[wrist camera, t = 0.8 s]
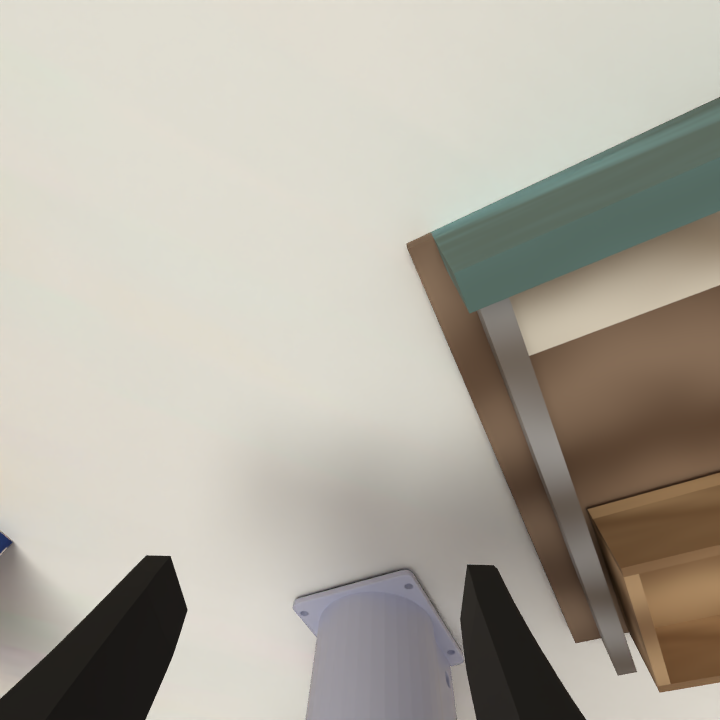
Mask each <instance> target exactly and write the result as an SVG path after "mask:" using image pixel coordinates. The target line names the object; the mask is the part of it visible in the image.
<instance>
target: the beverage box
mask: <svg viewBox="0 0 720 720" xmlns="http://www.w3.org/2000/svg"><path fill="white" fill-rule="evenodd" d="M12 543H13V541H12V540H10V539H9V538H8V537H7V536H6V535H4V534H3V533H2V532H1V531H0V555H1V554H2V553H3V552H4V551H5V550H6V549H7V548H8V547H9V546H10V545H11V544H12Z"/></svg>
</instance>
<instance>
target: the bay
mask: <svg viewBox="0 0 720 720" xmlns="http://www.w3.org/2000/svg"><path fill="white" fill-rule="evenodd" d="M407 248H408V251H409V253H410V255H411V258H412V260H413V263H414V265H415V267H416V270H417V272H418V274H419V277H420V279H421V281H422V284H423V286H424V288H425V291H426V293H427V295H428V298H429V300H430V302H431V305H432V307H433V310H434V312H435V314H436V317H437V319H438V321H439V324H440V326H441V328H442V331H443V333H444V335H445V338H446V340H447V342H448V345H449V347H450V349H451V352H452V354H453V357H454V359H455V361H456V364H457V366H458V368H459V371H460V373H461V375H462V378H463V380H464V382H465V385H466V387H467V389H468V392H469V394H470V396H471V399H472V401H473V403H474V406H475V408H476V411H477V413H478V415H479V418H480V420H481V422H482V425H483V427H484V429H485V432H486V434H487V436H488V439H489V441H490V443H491V446H492V448H493V450H494V453H495V455H496V458H497V460H498V462H499V465H500V467H501V469H502V472H503V474H504V476H505V479H506V481H507V483H508V486H509V488H510V490H511V493H512V495H513V497H514V500H515V502H516V505H517V507H518V509H519V512H520V514H521V516H522V519H523V521H524V523H525V526H526V528H527V530H528V533H529V535H530V537H531V540H532V542H533V544H534V547H535V549H536V552H537V554H538V556H539V559H540V561H541V563H542V566H543V568H544V570H545V573H546V575H547V577H548V580H549V582H550V584H551V587H552V589H553V591H554V594H555V596H556V598H557V601H558V603H559V606H560V608H561V610H562V613H563V615H564V617H565V620H566V622H567V624H568V627H569V629H570V631H571V634H572V636H573V638H574V641H575V643H579V642H584V641H589V640H594V639H599V638H601V639H602V641H603V643H604V645H605V648H606V650H607V652H608V654H609V657H610V659H611V661H612V663H613V666H614V668H615V670H616V672H617V675H623V674H629V673H634V672H637V671H636V668H635V665H634V662H633V659H632V656H631V653H630V650H629V647H628V644H627V641H626V638H625V636H624V633H628V632H629V631H628V629H627V627H626V624H625V621H624V618H623V615H622V612H621V609H620V606H619V603H618V600H617V597H616V594H615V591H614V588H613V585H612V582H611V579H610V576H609V573H608V570H607V567H606V564H605V561H604V558H603V555H602V552H601V549H600V546H599V543H598V540H597V537H596V534H595V531H594V528H593V525H592V522H591V519H590V516H589V513H588V510H587V509H590V508H594V507H597V506H601V505H605V504H608V503H612V502H616V501H619V500H623V499H626V498H630V497H634V496H637V495H641V494H644V493H648V492H652V491H655V490H659V489H662V488H666V487H670V486H673V485H677V484H681V483H684V482H688V481H691V480H695V479H699V478H702V477H706V476H709V475H713V474H717V473H720V97H719V98H717V99H715V100H713V101H711V102H708V103H706V104H704V105H702V106H700V107H698V108H696V109H693V110H691V111H689V112H687V113H685V114H683V115H681V116H678V117H676V118H674V119H672V120H670V121H668V122H666V123H664V124H661V125H659V126H657V127H655V128H653V129H651V130H649V131H646V132H644V133H642V134H640V135H638V136H636V137H634V138H631V139H629V140H627V141H625V142H623V143H621V144H619V145H616V146H614V147H612V148H610V149H608V150H606V151H604V152H602V153H599V154H597V155H595V156H593V157H591V158H589V159H587V160H584V161H582V162H580V163H578V164H576V165H574V166H572V167H569V168H567V169H565V170H563V171H561V172H559V173H557V174H555V175H552V176H550V177H548V178H546V179H544V180H542V181H540V182H537V183H535V184H533V185H531V186H529V187H527V188H525V189H522V190H520V191H518V192H516V193H514V194H512V195H510V196H507V197H505V198H503V199H501V200H499V201H497V202H495V203H493V204H490V205H488V206H486V207H484V208H482V209H480V210H478V211H475V212H473V213H471V214H469V215H467V216H465V217H463V218H460V219H458V220H456V221H454V222H452V223H450V224H448V225H446V226H443V227H441V228H439V229H437V230H435V231H433V232H431V233H428V234H426V235H424V236H422V237H420V238H418V239H416V240H413V241H411V242H409V243H407Z"/></svg>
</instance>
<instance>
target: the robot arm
mask: <svg viewBox="0 0 720 720" xmlns="http://www.w3.org/2000/svg"><path fill="white" fill-rule="evenodd" d="M293 610H294V611H295V612H296V613H297V615H298V616H299V617H300V618H301V619H302V620H303V622H304V623H305V624H306V625H307V626H308V628H309V629H310V630H311V631H312V632H313V634H314V635H315V636H316V637H317V640H316V647H315V655H314V662H313V669H312V676H311V684H310V691H309V698H308V705H307V713H306V720H457V715H456V707H455V699H454V692H453V684H452V676H451V668H450V666H454V665H459V664H461V663H463V661H464V658H463V653H462V652H461V650H460V648H459V647H458V645H457V644H456V642H455V640H454V639H453V637H452V636H451V634H450V632H449V631H448V629H447V627H446V626H445V624H444V623H443V621H442V619H441V618H440V616H439V615H438V613H437V611H436V610H435V608H434V606H433V605H432V603H431V602H430V600H429V598H428V597H427V595H426V594H425V592H424V590H423V589H422V587H421V586H420V584H419V582H418V581H417V579H416V577H415V576H414V574H413V573H412V572H411V571H409V570H401V571H397V572H393V573H390V574H386V575H382V576H378V577H375V578H371V579H367V580H364V581H360V582H356V583H353V584H349V585H345V586H342V587H338V588H334V589H331V590H327V591H323V592H319V593H316V594H312V595H308V596H305V597H301V598H298V599H296V600H294V603H293ZM186 613H187V606H186V603H185V600H184V597H183V594H182V591H181V588H180V585H179V581H178V578H177V575H176V572H175V569H174V566H173V563H172V559H171V556H148V555H147V556H145V557H144V558H143V559H142V560H141V561H140V562H139V563H138V564H137V565H136V566H135V567H134V568H133V569H132V570H131V571H130V572H129V573H128V574H127V576H126V577H125V578H124V579H123V580H122V581H121V582H120V583H119V584H118V585H117V586H116V587H115V588H114V589H113V590H112V591H111V592H110V593H109V594H108V595H107V596H106V597H105V598H104V599H103V600H102V601H101V602H100V603H99V604H98V605H97V606H96V607H95V608H94V609H93V610H92V611H91V612H90V613H89V614H88V615H87V616H86V617H85V618H84V619H83V620H82V621H81V622H80V623H79V624H78V625H77V626H76V627H75V628H74V629H73V630H72V631H71V632H70V633H69V634H68V635H67V636H66V637H65V638H64V639H63V640H62V641H61V642H60V643H59V644H58V645H57V646H56V647H55V648H54V649H53V650H52V651H51V652H50V653H49V654H48V655H47V656H46V657H45V658H44V659H43V660H42V661H40V662H39V663H38V664H37V665H36V666H35V667H34V668H33V669H32V670H31V671H30V672H29V673H28V674H27V675H25V676H24V677H23V678H22V679H21V680H20V681H19V682H18V683H17V684H16V685H15V686H14V687H13V688H12V689H10V690H9V691H8V692H7V693H6V694H5V695H4V696H3V697H2V698H1V699H0V720H145V719H146V717H147V715H148V712H149V710H150V708H151V706H152V703H153V701H154V699H155V696H156V694H157V692H158V690H159V687H160V685H161V683H162V680H163V678H164V676H165V673H166V671H167V669H168V666H169V664H170V662H171V659H172V657H173V654H174V651H175V648H176V645H177V642H178V639H179V636H180V632H181V629H182V626H183V623H184V619H185V616H186ZM460 622H461V630H462V639H463V648H464V655H465V663H466V671H467V676H468V680H469V685H470V690H471V695H472V700H473V704H474V709H475V714H476V719H477V720H586V719H585V717H584V716H583V714H582V713H581V711H580V710H579V708H578V707H577V705H576V704H575V703H574V701H573V700H572V698H571V696H570V695H569V693H568V692H567V690H566V689H565V687H564V686H563V684H562V682H561V681H560V679H559V678H558V676H557V674H556V673H555V671H554V670H553V668H552V666H551V665H550V663H549V661H548V660H547V658H546V657H545V655H544V653H543V652H542V650H541V648H540V647H539V645H538V643H537V642H536V640H535V638H534V637H533V635H532V633H531V631H530V630H529V628H528V626H527V624H526V623H525V621H524V619H523V617H522V615H521V614H520V612H519V610H518V608H517V606H516V604H515V603H514V601H513V599H512V597H511V595H510V593H509V591H508V589H507V587H506V585H505V583H504V581H503V579H502V577H501V575H500V573H499V571H498V569H497V568H496V567H495V566H494V565H467V571H466V578H465V586H464V594H463V602H462V610H461V617H460Z"/></svg>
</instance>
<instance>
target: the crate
mask: <svg viewBox="0 0 720 720" xmlns="http://www.w3.org/2000/svg"><path fill="white" fill-rule="evenodd" d="M587 510H588V513H589V516H590V519H591V522H592V525H593V528H594V531H595V534H596V537H597V540H598V543H599V546H600V549H601V552H602V555H603V558H604V561H605V564H606V567H607V570H608V573H609V576H610V579H611V582H612V585H613V588H614V591H615V594H616V597H617V600H618V603H619V606H620V609H621V612H622V615H623V618H624V621H625V624H626V627H627V629H628V631H629V633H630V635H631V637H632V639H633V641H634V643H635V645H636V647H637V649H638V651H639V653H640V655H641V657H642V659H643V660H644V662H645V664H646V666H647V668H648V670H649V672H650V674H651V676H652V678H653V680H654V682H655V684H656V686H657V688H658V690H659V692H666V691H672V690H678V689H684V688H689V687H695V686H701V685H707V684H713V683H719V682H720V473H717V474H713V475H709V476H706V477H702V478H699V479H695V480H691V481H688V482H684V483H681V484H677V485H673V486H670V487H666V488H662V489H659V490H655V491H652V492H648V493H644V494H641V495H637V496H634V497H630V498H626V499H623V500H619V501H616V502H612V503H608V504H605V505H601V506H597V507H594V508H590V509H587Z"/></svg>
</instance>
